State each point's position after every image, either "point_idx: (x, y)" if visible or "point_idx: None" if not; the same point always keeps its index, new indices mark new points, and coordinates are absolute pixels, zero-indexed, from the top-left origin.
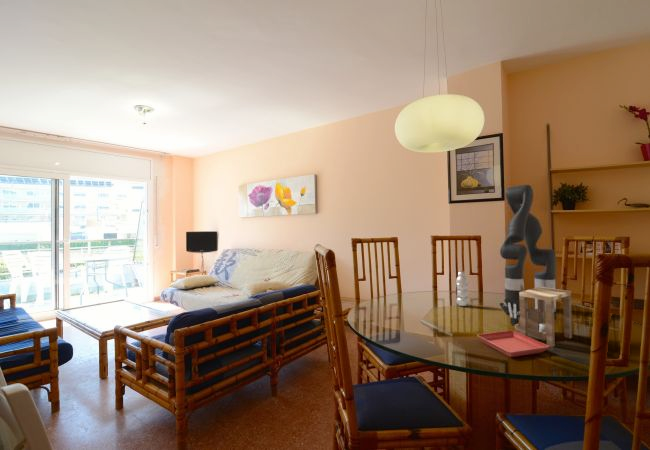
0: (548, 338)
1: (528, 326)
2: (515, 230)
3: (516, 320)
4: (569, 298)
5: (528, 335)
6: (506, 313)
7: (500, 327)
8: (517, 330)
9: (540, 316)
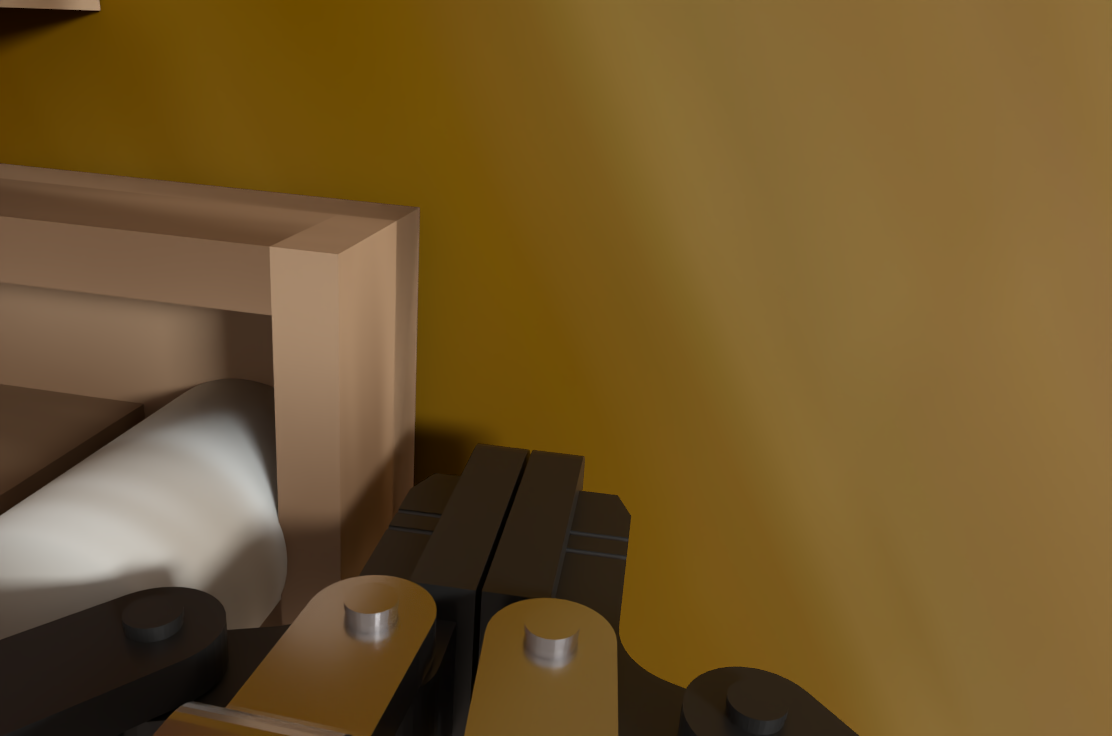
0: None
1: (21, 455)
2: None
3: (381, 564)
4: None
5: (27, 171)
6: (800, 724)
7: (923, 365)
8: (307, 209)
9: None
